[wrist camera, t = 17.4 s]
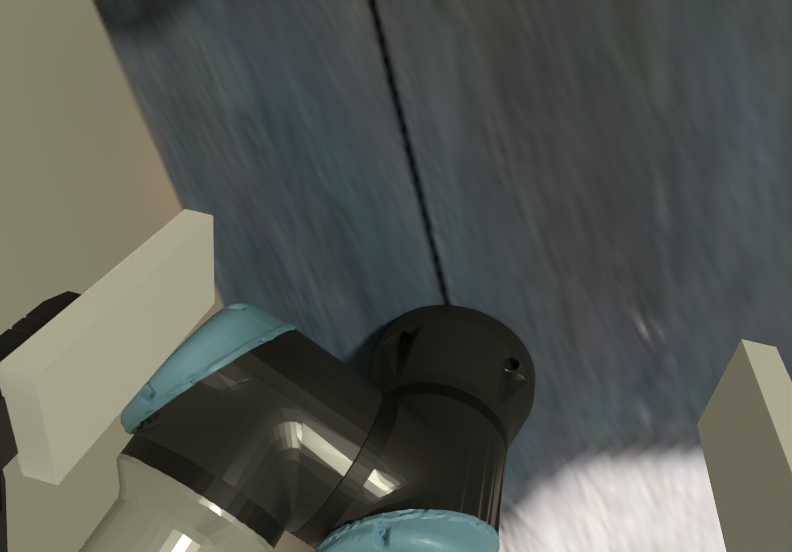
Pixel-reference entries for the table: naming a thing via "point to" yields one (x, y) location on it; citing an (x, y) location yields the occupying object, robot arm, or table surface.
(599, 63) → the table surface
